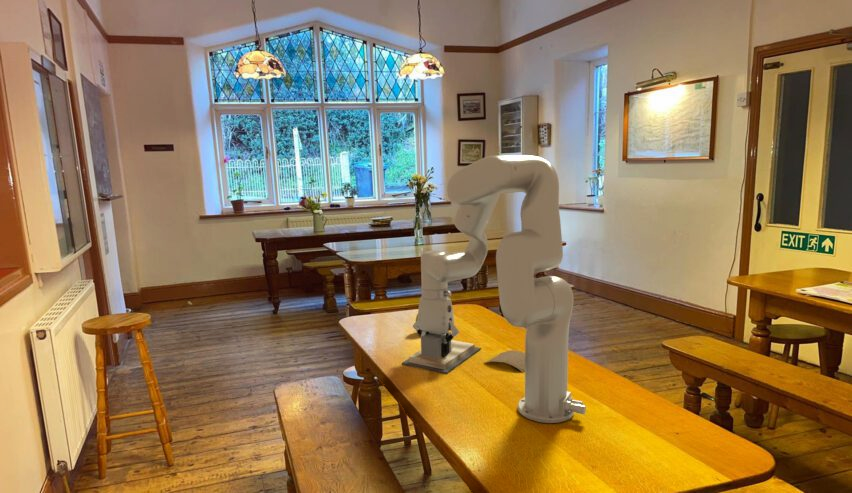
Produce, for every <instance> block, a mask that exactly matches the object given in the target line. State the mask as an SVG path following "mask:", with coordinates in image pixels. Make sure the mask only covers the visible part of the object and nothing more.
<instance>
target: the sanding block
mask: <svg viewBox="0 0 852 493" xmlns="http://www.w3.org/2000/svg"><path fill="white" fill-rule="evenodd" d="M449 334H452V331H451V332H450V331H449ZM442 343H443V341H442V338H441V334H438V333H432V332H430V333H428V334H426V335H424V336H422V337H420V350H421V357H423V358H428V359H433V360H439V359H441V358H442V351H441V344H442ZM450 352H451V341H450V342H449V353H450Z"/></svg>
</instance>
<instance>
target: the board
mask: <svg viewBox="0 0 852 493" xmlns="http://www.w3.org/2000/svg"><path fill="white" fill-rule="evenodd" d="M481 350H482V347H480V346H479V347H478V346H475V343H472V342H471V343H470V342H464V341H461V340H460V341H459V340H454V339H452V340H451V352H450V353H449V354H448V355H446V356H445V357H442V358H441V359H439V360H433V359H428V358H423V357H421V349H420V350H418V351H417V352H414V353H413V354H411V355H409V356H408V358H407V359H406V360H404V361H402V362H401V365H402V366H403V365H404V366H407V367H412V368H417V369H421V370H424V371H425V370H426V371H431V372H436V373H439V374H446V375H448V374H449V373H451V372H452V371H454V370H455V369H457V368H458V367H459V366H460V365H462V364H463V363H465V362H466V361H468V359H470V358H472V356H474V355H475V354H477V353H478V352H479V351H481Z"/></svg>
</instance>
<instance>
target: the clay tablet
mask: <svg viewBox="0 0 852 493" xmlns="http://www.w3.org/2000/svg"><path fill="white" fill-rule="evenodd" d="M490 362H495V363H496V362H498V363H505V364H507V365H510V366H513V367H514V368H516V369H518V370H519V371H520V372H521V373H525V352H522V351H521V350H520V351H518V350H506V351H503V352H501V353H499V354H497V355H496V356H494V357H493V358H490V359H489V360H487V361H486V362H484V364H486V363H490Z"/></svg>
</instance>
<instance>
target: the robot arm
mask: <svg viewBox="0 0 852 493" xmlns="http://www.w3.org/2000/svg"><path fill="white" fill-rule="evenodd" d="M446 193H447V194H446V195H447V197H448V200H449V201H450V202H451V203H452V204H454V205H456V206H458V208H457V210H456V213H455V215H454V218H453V224H454V226H455V227H456V229H457V230H458V231H459V232H461V233H463V234H464V235H466V236H468V237H469V240H468V243H467V245H466V247H465V249H464V251H458V252H457V251H456V252H451V253H446V252H445V251H444V250H436V249H434V250H426V251H424V252H422V253H421V256H420V273H421V274H420V276H421V278H420V279H421V297H420V298H419V303H418V307H417V308H418V309H417V310H418V311H417V314H418V320H417V321H416V320H415V322H414V324H412V328H413V329H414V330H415V331H416V333H417V335H418V336H419V337H420V338H421V337H422V336H424V335H426V334H428V333H430V332H432V333H438V334H441V338H442V341H443V343H442V344H441V351H442V357H445V356H446V355H448V354H449V342H450V341H451V340H454V338H455V337H456V336H457V335H459V334H460V331H459V330H458V328H457V327H456V325H455V317H454V307H453V304H452V298H451V296H452V291H450V290H449V288H448V287H449V286H448V283H449V282H455V281H458V280H464V279H469V278H472V277H474V276H476V275H477V274H478V272H479V271H480V270H481V269H482V266H483V265H484V262H485V259H486V257H487V255H488V249H489V246H488V243H489V242H488V236H487V235H486V232H485V230H486V227H487V225H488V223H489V221H490V218H491V216H492V215H493V212H494V209H495V207H496V205H497V203H498V201H499V199H500V196H501V194H514V193H525V195H524V197H523V199H522V203H521V204H520V205H521V207H520V213H519V215H520V216H519V217H520V222H521V223H520V224H521V225H520V226H521V229H520V231H519V230H518V231H514V232H511V233H509V234H506V235H505V236H503V238H502V239H501V240H500V241H499V243H498V245H497V249H496V253H495V262H496V263H495V264H496V275H497V277H496V278H497V285H498V296H499V305H500V309H501V312H502V315H503V317H504V319H505V320H506V321H507V323H509V324H510V325H511V326H513V327H516V328H517V327H518V328H525V327H526V331H525V339H524V344H525V345H524V349H525V350H524V353H525V372H524V397H523V398H521V399H520V400H519V401H518V403H517V410H518V412H519V413H520V415H521V416H523V417H525V418H526V419H529V420H530V421H534V422H538V423H544V424H545V423H546V424H558V423H563V422H566V421H569V420H570V419H572V417H573V416H574V413H577V414H580V415H585V414H586V410H587V409H586V408H587V406H586V405H584V401H582V400H580V399H579V400H578V399H577V400H576V399H573V398H572V392H571V391H568V375H569V374H568V366H569V363H568V362H569V336H570V335H569V332H570V323H571V317H572V314H573V309H574V301H575V299H574V293H573V289H572V287H571V285H570V284H569V282H568V281H566V280H565V279H564V278H561V277H558V276H555V275H548V276H540V277H537V278H535V276H534V275H535V274H537V273H542V272H546V271H550V270H553V269H556V268H557V267H558V266H559V265H560V264H561V263H562V260H563V256H564V250H563V237H562V227H561V226H562V224H561V215H560V204H559V202H560V196H559V195H560V182H559V177H558V173H557V171H556V168H555V167H554V166H553V165H552V163H551V162H549V161H548V160H547V159H545V158H542V157H540V156H536V155H531V154H529V155H528V154H512V155H510V154H508V155H507V154H506V155H505V154H504V155H503V154H502V155H501V154H500V155H498V154H497V155H489V156H485V157H482V158H480V159H479V160H476V161H473V162H472V163H470V164H468V165H466V166H463V167H462V168H460V169H458V170H456V171H455V172H454V173H453V174H452V175H451V176H450V178H449V180H448V182H447V187H446ZM450 331H451V334H449V332H450Z"/></svg>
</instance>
